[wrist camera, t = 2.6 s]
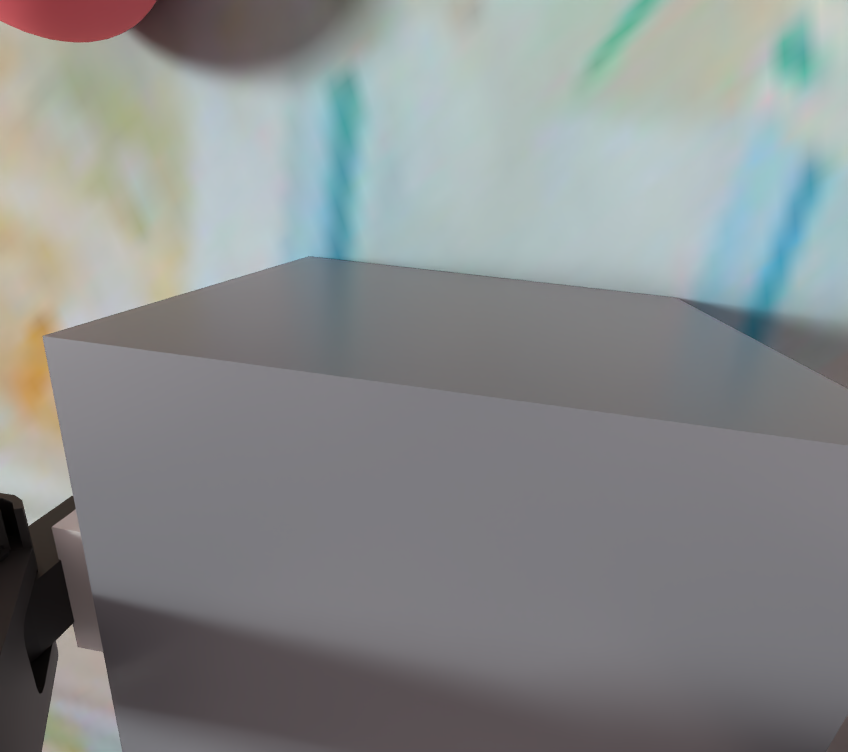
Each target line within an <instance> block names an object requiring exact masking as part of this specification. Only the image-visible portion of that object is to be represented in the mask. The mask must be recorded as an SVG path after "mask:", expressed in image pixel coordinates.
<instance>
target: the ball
mask: <svg viewBox="0 0 848 752" xmlns="http://www.w3.org/2000/svg"><path fill="white" fill-rule="evenodd" d="M156 1H157V0H0V21H2V22H4V23H6V24H8V25H11V26H13V27H15V28H17V29H20V30H22V31H24V32H27V33H31V34H34V35H37V36H40V37H44V38H48V39H52V40H59V41H66V42H93V41H99V40H104V39H109V38H112V37H114V36H117V35H119V34H121V33H124V32H126V31H127V30H129V29H131V28H132V27H134V26H135V25H136V24H138V23H139V22H140V21H141V20H142V19H143V18H144V17H145V16H146V15H147V13H148V12H149V11H150V10H151V9H152V7H153V6H154V4H155V2H156Z"/></svg>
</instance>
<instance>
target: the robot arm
mask: <svg viewBox="0 0 848 752" xmlns="http://www.w3.org/2000/svg"><path fill="white" fill-rule="evenodd" d="M72 624H73V627H74V632H75V636H76V641H77V645H78V647H81V648H86V649H91V650H96V651H101V652H103V648H102V643H101V637H100V632H99V627H98V622H97V617H96V611H95V606H94V601H93V596H92V591H91V585H90V580H89V575H88V570H87V565H86V559H85V554H84V549H83V544H82V539H81V534H80V528H79V523H78V518H77V513H76V508H75V502H74V497H73V496H71V497H70V498H68V499H67V500H65V501H64V502H63V503H61V504H60V505H58V506H57V507H55V508H54V509H53V510H51V511H50V512H48V513H47V514H45V515H44V516H43V517H41V518H40V519H38V520H37V521H35V522H34V523H33V524H31V525H30V526H28V523H27V519H26V515H25V510H24V506H23V502H22V500H21V499H19V498H18V497H16V496H15V495H10V494H3V493H0V752H42V746H43V741H44V735H45V729H46V724H47V718H48V712H49V706H50V701H51V695H52V689H53V684H54V678H55V672H56V666H57V661H58V649H57V644H56V640H57V639H58V638H59V637H60V636H61V635H62V634H63V633H64V632H65V631H66V630H67V629H68V628H69V627H70V626H71V625H72ZM826 752H848V715H847V716H846V718H845V720H844V721H843V723H842V725H841V727H840V728H839V730H838V732H837V734H836V735H835V737H834V739H833V741H832V742H831V744H830V746H829V747H828V749H827V751H826Z"/></svg>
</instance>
